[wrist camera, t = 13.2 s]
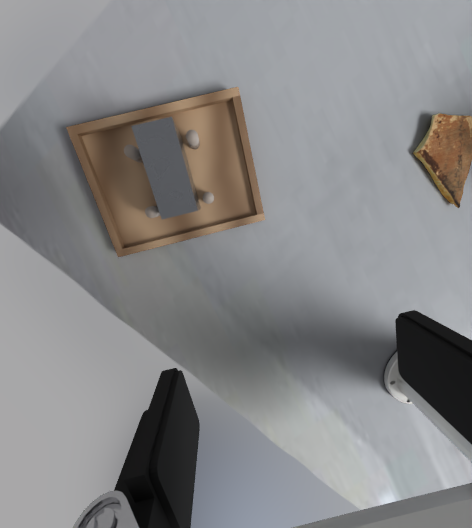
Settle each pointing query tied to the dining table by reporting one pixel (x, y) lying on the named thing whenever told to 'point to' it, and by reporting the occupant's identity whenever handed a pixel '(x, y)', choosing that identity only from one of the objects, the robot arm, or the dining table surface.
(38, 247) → the dining table surface
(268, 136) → the dining table surface
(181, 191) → the block
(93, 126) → the pin tray
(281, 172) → the dining table surface
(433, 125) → the shard
